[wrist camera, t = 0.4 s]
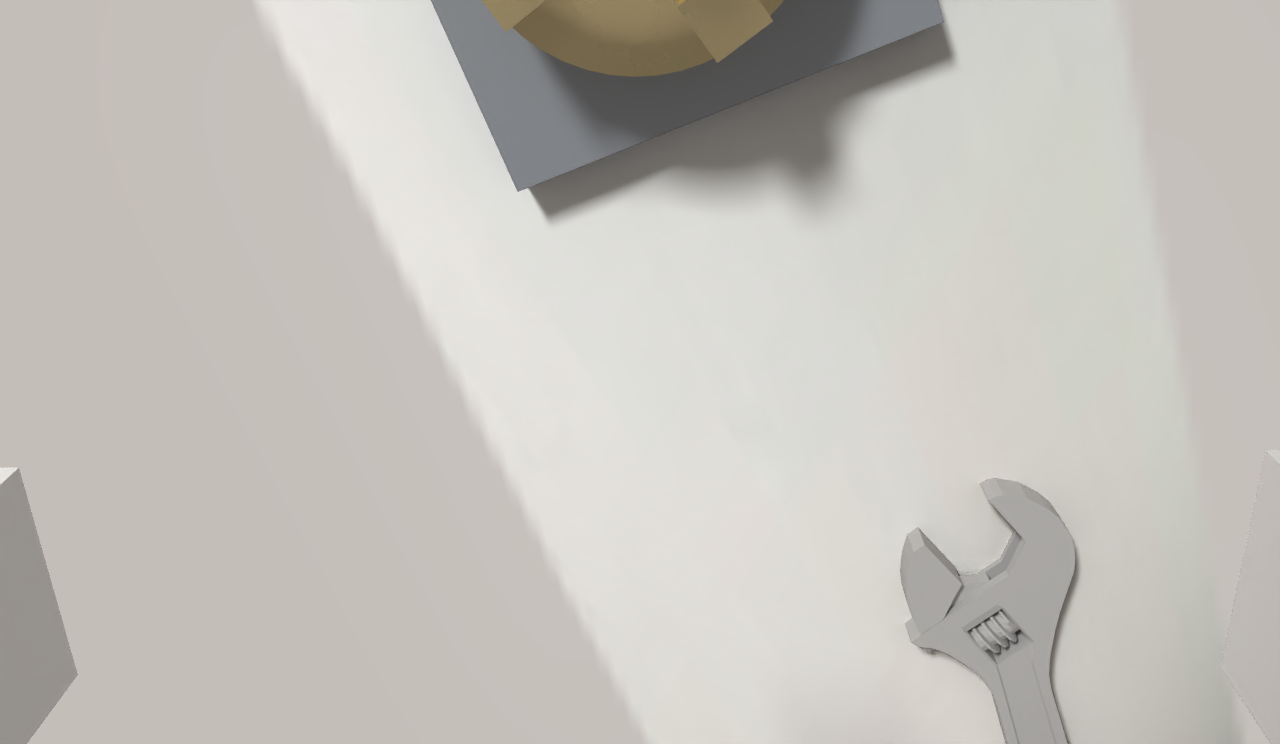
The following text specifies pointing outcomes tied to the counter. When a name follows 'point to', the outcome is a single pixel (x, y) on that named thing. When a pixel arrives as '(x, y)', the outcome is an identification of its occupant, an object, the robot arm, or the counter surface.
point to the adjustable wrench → (999, 609)
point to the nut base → (649, 79)
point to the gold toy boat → (635, 31)
